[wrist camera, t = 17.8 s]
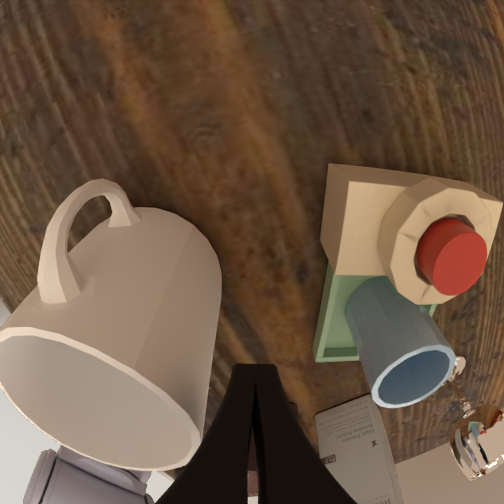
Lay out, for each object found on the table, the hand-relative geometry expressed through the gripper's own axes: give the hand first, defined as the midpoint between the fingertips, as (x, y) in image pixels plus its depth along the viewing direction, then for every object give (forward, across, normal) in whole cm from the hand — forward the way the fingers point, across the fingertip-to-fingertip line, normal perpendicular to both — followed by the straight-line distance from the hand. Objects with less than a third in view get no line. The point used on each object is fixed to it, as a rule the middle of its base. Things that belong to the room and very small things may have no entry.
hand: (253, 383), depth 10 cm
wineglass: (+11, -20, +13) cm, 26 cm away
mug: (+11, +7, +1) cm, 13 cm away
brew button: (+5, -9, -3) cm, 11 cm away
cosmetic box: (+11, -10, +18) cm, 23 cm away
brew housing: (+10, -9, -3) cm, 14 cm away
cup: (+10, -9, +4) cm, 14 cm away
